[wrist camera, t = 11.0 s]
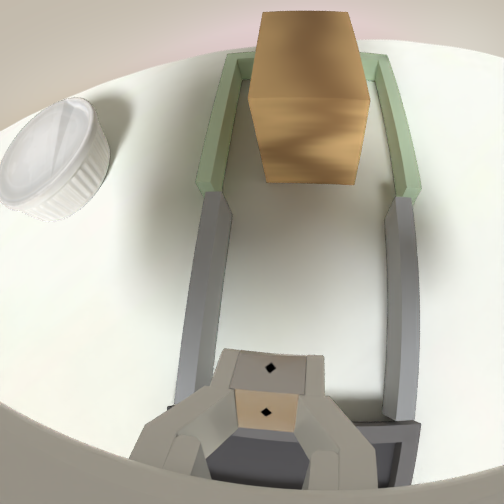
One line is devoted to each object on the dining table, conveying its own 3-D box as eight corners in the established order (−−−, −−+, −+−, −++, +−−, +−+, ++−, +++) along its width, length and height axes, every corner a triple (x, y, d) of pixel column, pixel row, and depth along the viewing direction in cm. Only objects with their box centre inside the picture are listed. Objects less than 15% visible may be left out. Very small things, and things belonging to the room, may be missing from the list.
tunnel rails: (193, 399, 18) (174, 403, 15) (218, 214, 22) (205, 191, 19) (398, 412, 15) (414, 419, 13) (398, 220, 19) (411, 197, 17)
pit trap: (170, 489, 16) (160, 496, 14) (177, 404, 18) (167, 406, 16) (397, 507, 13) (403, 516, 12) (412, 420, 15) (421, 423, 14)
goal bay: (206, 201, 22) (195, 182, 20) (232, 74, 27) (227, 53, 25) (411, 207, 20) (421, 188, 17) (383, 75, 24) (387, 54, 22)
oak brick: (266, 183, 22) (247, 98, 15) (275, 88, 25) (262, 12, 18) (354, 185, 21) (370, 100, 14) (344, 89, 24) (347, 12, 17)
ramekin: (144, 162, 25) (114, 121, 20) (52, 259, 23) (9, 234, 18) (92, 116, 29) (67, 83, 24) (19, 192, 27) (-12, 167, 22)
